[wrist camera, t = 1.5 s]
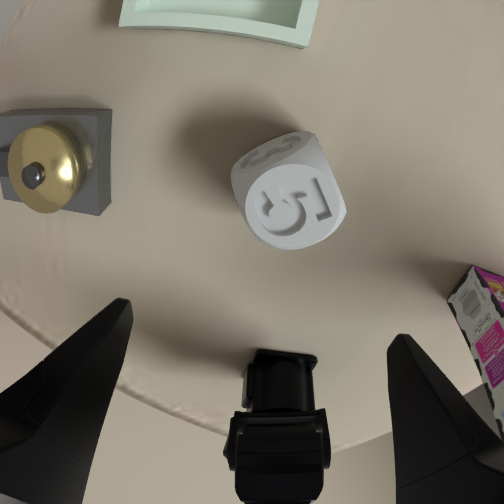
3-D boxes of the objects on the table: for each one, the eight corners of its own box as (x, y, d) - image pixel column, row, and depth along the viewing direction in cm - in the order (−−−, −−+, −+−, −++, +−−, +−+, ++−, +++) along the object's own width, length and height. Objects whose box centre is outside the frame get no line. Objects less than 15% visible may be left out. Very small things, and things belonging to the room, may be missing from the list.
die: (336, 191, 20) (354, 230, 15) (268, 218, 21) (268, 262, 17) (308, 123, 17) (321, 144, 13) (234, 155, 18) (224, 186, 14)
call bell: (112, 109, 17) (76, 125, 13) (110, 202, 21) (83, 234, 17) (10, 110, 16) (-28, 127, 12) (17, 188, 20) (-14, 213, 16)
